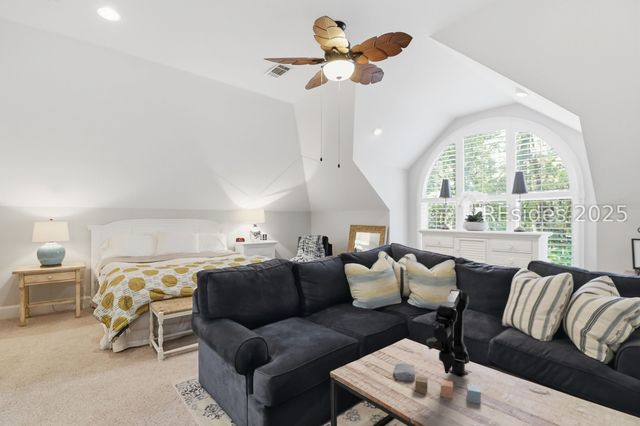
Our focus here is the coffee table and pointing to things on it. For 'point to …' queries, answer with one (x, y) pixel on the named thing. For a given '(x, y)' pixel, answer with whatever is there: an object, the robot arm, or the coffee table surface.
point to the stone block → (404, 372)
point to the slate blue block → (473, 394)
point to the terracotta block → (447, 389)
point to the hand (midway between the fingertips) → (446, 368)
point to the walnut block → (421, 384)
